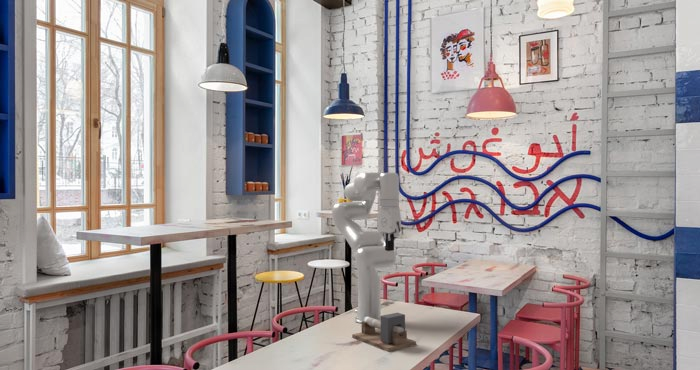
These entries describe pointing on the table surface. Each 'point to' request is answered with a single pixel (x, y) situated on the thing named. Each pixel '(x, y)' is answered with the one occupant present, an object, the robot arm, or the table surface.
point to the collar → (390, 321)
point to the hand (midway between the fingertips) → (389, 250)
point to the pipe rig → (374, 335)
